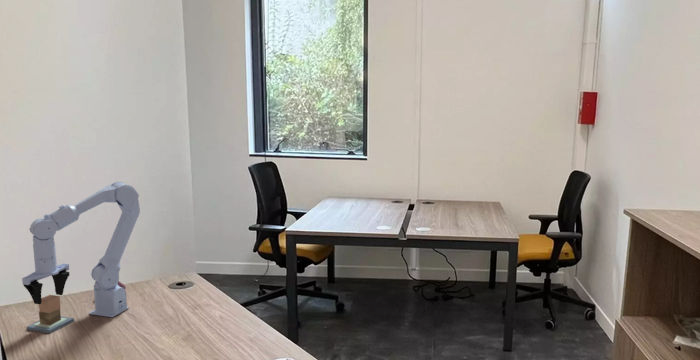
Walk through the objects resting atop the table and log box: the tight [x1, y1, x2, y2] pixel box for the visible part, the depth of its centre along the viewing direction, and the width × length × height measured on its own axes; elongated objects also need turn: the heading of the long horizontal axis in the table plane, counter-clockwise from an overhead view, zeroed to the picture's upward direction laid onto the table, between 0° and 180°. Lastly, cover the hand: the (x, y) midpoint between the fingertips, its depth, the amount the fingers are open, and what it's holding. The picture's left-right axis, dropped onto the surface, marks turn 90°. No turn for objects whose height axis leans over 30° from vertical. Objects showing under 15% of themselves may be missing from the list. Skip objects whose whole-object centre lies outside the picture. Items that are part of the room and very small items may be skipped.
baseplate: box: [26, 315, 75, 334], centre depth 152 cm, size 9×9×1 cm
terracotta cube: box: [38, 294, 61, 313], centre depth 151 cm, size 4×4×4 cm
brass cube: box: [38, 308, 62, 325], centre depth 152 cm, size 4×4×4 cm
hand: (48, 298), depth 151 cm, fingers open, 7 cm apart
